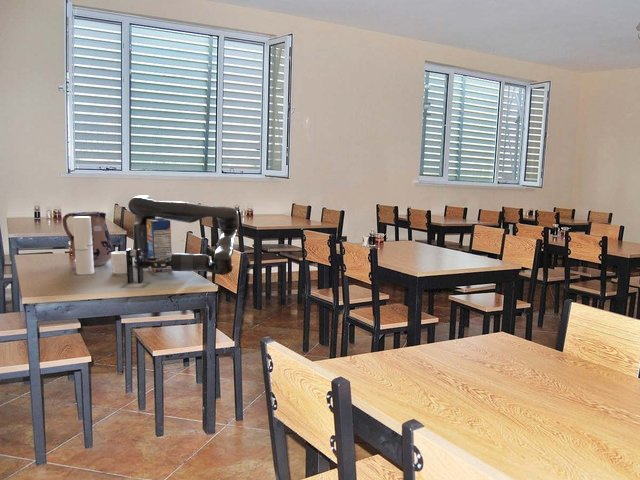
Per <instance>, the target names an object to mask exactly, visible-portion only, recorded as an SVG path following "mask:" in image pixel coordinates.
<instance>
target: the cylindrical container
mask: <svg viewBox="0 0 640 480" xmlns="http://www.w3.org/2000/svg"><path fill="white" fill-rule="evenodd" d="M72 229H73V236H74V245H75V258H74V259H75V273H76V274H75V275H80V276H82V275H83V276H85V275H86V276H87V275H93V274H95V266H94V262H93V245H92V229H91V217H89V216H78V217H72Z"/></svg>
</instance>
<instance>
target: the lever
mask: <svg viewBox="0 0 640 480" xmlns="http://www.w3.org/2000/svg"><path fill="white" fill-rule="evenodd" d="M130 256H131V257H132V258H134V261H133V265H135V264H137V260H135V258H137V257H136V250H134V249H132V250H131V251H130ZM143 261H152V260H143Z"/></svg>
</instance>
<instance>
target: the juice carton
mask: <svg viewBox="0 0 640 480" xmlns="http://www.w3.org/2000/svg"><path fill="white" fill-rule="evenodd" d="M146 222H147V244H148V258H158V257H171V256H172V254H173V251H172V229H171V220H169V219H165V218H160V217H155V219H146ZM154 265H156V263H154ZM148 272H153V273H154V274H157V273H158V274H159V273H170V272H171V273H172V272H173V270H172V269H171V266H168V267H167V268H151V267H148Z"/></svg>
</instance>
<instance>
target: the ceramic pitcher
mask: <svg viewBox="0 0 640 480" xmlns="http://www.w3.org/2000/svg"><path fill="white" fill-rule="evenodd" d="M106 215H107V213H106V212H103V211H102V212H100V211H83V212H82V211H81V212H67V213H66V214H65V215H64V216H63V218H62V227H63V229H64V231H65V234H66V235H67V237H68V238H69V240H70V248H71V251H72V256H73V258H74V259H75V245H74V235H73V234H72V232H71V231H70V228H69V226H68V222H67V220H68V218H70V217H72V218H73V217H78V216H89V217H91V229H92V245H93V262H94V267H100V266H103V265H106V264H107V263H108V262H110V260H111V253H112V252H114V244H113V241H112V238H111V237H112V236H111V235H110V231H109V228H108V225H107V221H106Z"/></svg>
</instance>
